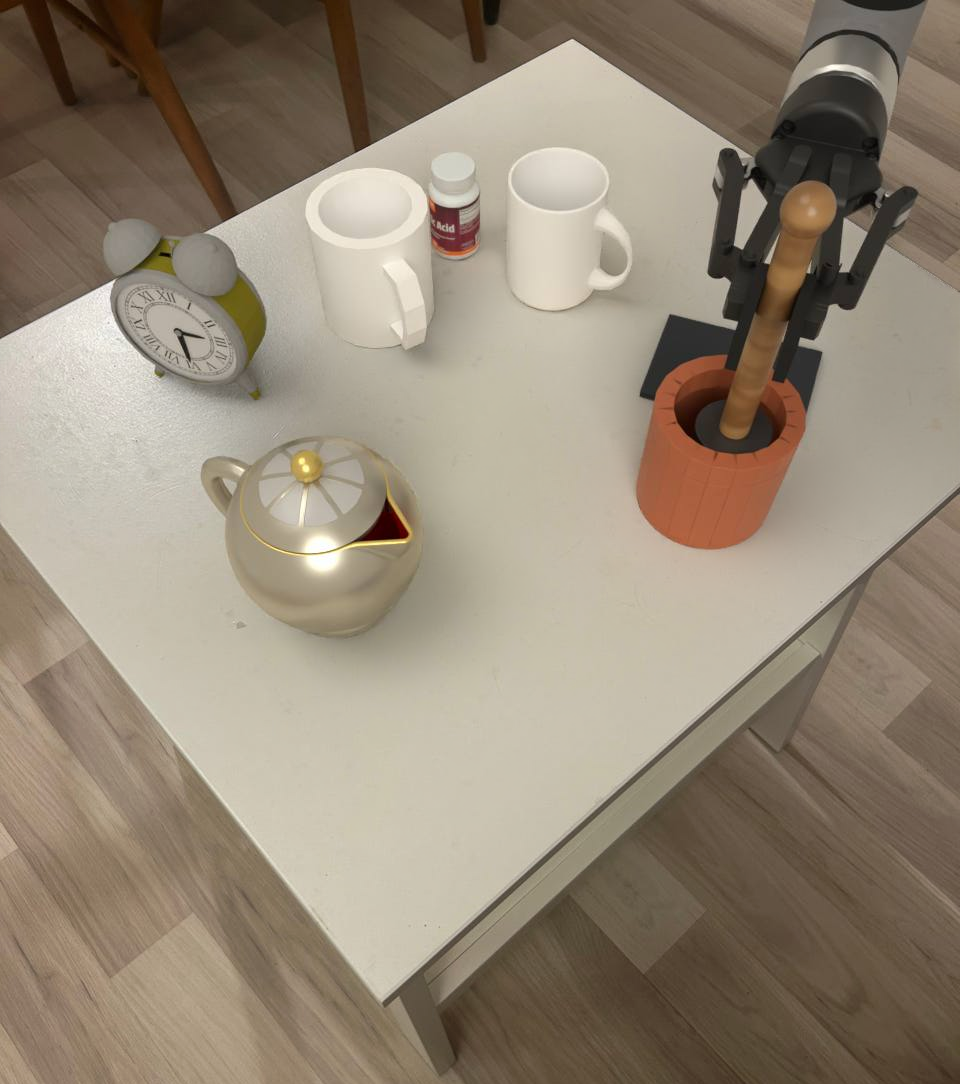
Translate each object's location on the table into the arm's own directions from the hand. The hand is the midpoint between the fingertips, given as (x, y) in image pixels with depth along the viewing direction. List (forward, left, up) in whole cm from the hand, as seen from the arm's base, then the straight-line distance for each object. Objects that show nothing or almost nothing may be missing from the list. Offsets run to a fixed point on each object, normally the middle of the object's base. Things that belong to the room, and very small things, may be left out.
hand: (759, 358), depth 55 cm
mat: (+15, -13, -21) cm, 29 cm away
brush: (+4, -4, -16) cm, 17 cm away
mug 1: (+35, +12, -21) cm, 43 cm away
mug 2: (+31, -5, -21) cm, 38 cm away
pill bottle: (+41, +2, -21) cm, 46 cm away
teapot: (+10, +27, -21) cm, 36 cm away
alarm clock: (+35, +28, -21) cm, 49 cm away
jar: (+5, -4, -21) cm, 22 cm away
